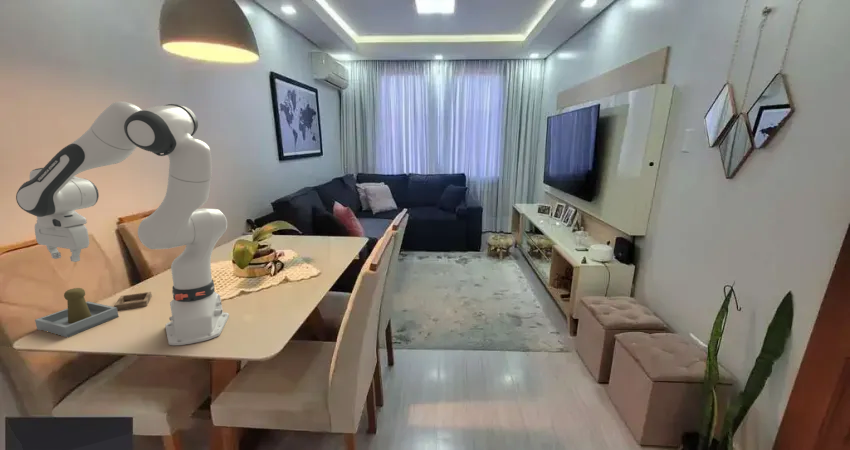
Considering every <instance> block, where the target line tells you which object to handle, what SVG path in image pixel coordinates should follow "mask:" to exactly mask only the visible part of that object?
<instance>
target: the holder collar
mask: <svg viewBox="0 0 850 450" xmlns="http://www.w3.org/2000/svg"><path fill="white" fill-rule="evenodd" d="M119 296H120V297H119V298H118V299H117V300H116V302H115V304H114V305H113V307H116V308H117V311H123V310H124V311H125V310H129V309H131V310H132V309H135V308H136V309H137V308H142V307H148V305H149V302H150V301H151V299H152V296H153V295H152V291H147V292H140V293H139V292H138V293H133V294H125V295H119ZM142 299H143V300H142ZM136 300H137V301H136ZM128 301H129V302H128ZM131 301H132V302H131Z"/></svg>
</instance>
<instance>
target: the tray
mask: <svg viewBox="0 0 850 450" xmlns="http://www.w3.org/2000/svg"><path fill="white" fill-rule="evenodd" d="M86 303H87V306H88V308H89V311H90V313H91V316H90V317H88V318H85V319H83V320H80V321H77V322H75V323H72V324H70V323H68V307H67V308H65V309H62V310H59V311H56V312H54V313H51V314H48V315H45V316H42V317H38V318H35V320H34V321H35V322H34V323H35V325H36V330H38V331H41V330H44V331H43V332H45V331H48V332H51V333H50V334H52V333H55V334H54V335H56V334H58V335H57V336H59V335H61V337H63V336H64V338H67V337H68V338H70V337H72V335H73V336H74V335H77V334H80V333H83V332H85V331H86V330H89V329H92V328H95V327H97V326H99V325H102V324H104V323H106V322H109V321H112V320H114V319H116V318H117V319H118V318H119V317H120V316H119V313H118V311H119V310H117V308H116V307H114V306H111V305H107V304H102V303H96V302H93V301H90V300H89V301H86ZM48 332H47V333H48Z"/></svg>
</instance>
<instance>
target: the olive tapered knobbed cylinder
mask: <svg viewBox="0 0 850 450" xmlns="http://www.w3.org/2000/svg"><path fill="white" fill-rule="evenodd" d="M85 296H86V290H85V289H84V288H82V287H75V288H70V289H67V290H66V291H65V292H64V293H63V297H64V299H65V300H66V301H67V308H68V323H70V324H72V323H75V322H77V321H80V320H83V319H85V318H88V317H90V316H91V313H90V311H89V308H88V306H87V303H86V302H87V301H86V299H85Z"/></svg>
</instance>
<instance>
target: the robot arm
mask: <svg viewBox="0 0 850 450" xmlns="http://www.w3.org/2000/svg"><path fill="white" fill-rule="evenodd" d="M198 127H199V121H198V117H197V116H196V114H195V113H194V111H192V110H191V108H189V107H187V106H184V105H182V104H177V103H171V104H165V105H155V106H151V107H148V108H145V109H142V108H140V107H139V106H137V105H136V104H134V103H131V102H127V101H115V102H113V103H111V104H110V105H108V107H106V108H105V109H104V110H103V111H102V112H101V113H100V114H99V115H98V116H97V118H96V119H95V120H94V122H93V123H92V124H91V126H90V127H89V128H88V130H86V131H85V132H84V133H83V134H82V135H81V136H80V137H78V138H77V139H75V140H74V141H73V142H71V143H70V144H68V145H65V146H64V147H63V148H62V149H60V150H59V151H58V152H57V153H56V154H55V155H54V156H53V157H52V158H51V159H50V160H49V161H48V162H47V164H45V165H44V167H39V168H35V169H32V170H31V171H30V173H29V179H28V180H27V181H26V182H23V183H22V184H21V185H20V186H19V188H18V190H17V191H16V195H15V201H16V203H17V206H18V207H20V209H22V210H23V211H24V212H26V213H28V214H31V215H33V216H34V217H36V219H37V220H36V222H35V224H34V235H35V240H36V242H37V244H38V245H41V246H45V247H46V249H47V250H48V252H49V253H50V255H51V258H52V259H54V260H55V259H56V260H57V259H61V257H62V253H61V252H59V250H58V248H59V249H60V248H62V249H69V251H70V253H71V255H70V256H69V258H70V262H72V263H76V262H79V261H81V257H80V255H81V253H82V250H83V249H84V250H85V249H87V248H88V247H89V245H90V237H89V232H88V231H89V230H88V229H87V226H86V224H87V223H88V221H87V218H86V217H85V216H83V215H82V214H80V213H78V212H77V211H76V210H83V209H87V208H90V207H94V206H95V205H96V204H97V203H98V200H99V197H100V195H99V190H98V187H97V185H95V183H93V181H91V180H89V179H87V178H81V177H78V176H76V175H79V174H80V173H81V174H82V173H83V172H85V171H88V170H92V169H96V168H101V167H106V166H111V165H117V164H119V163H122V162H124V161H125V160H126V159H128V158H129V157H130V156H131V155H132V154H133V152H134V151H135V150H136V149H137V147H138V148H139V149H142V150H144V151H147V152H150V153H152V154H155V155H156V156H158V157H164V156H167V157H168V159H169V165H168V166H169V168H168V178H167V188H166V192H165V196H164V198H163V200H162V201H161V203H160V204H159V206H158V207H157V208H156V210H155V211H153V212H151V214H150V215H148V216H147V217H145V218H143V220H142V221H141V222H140V223H139V225H138V228H137V237H138V239H139V241H140V242H141V244H142V245H143V246H144V247H146V248H147V249H149V250H168V249H173V248H179V247H182V246H185V247H184V250H183V251H182V252H181V253H180V254H179V255H178V256H177V257H175V258H174V260H172V263H171V266H170V271H171V276H172V287H171V288H172V290H171V291H172V296H173V297H172V300H171V301H170V302H169V304H170V311H171V313H170V314H171V316H169V318H168V319H169V321H168V322H166V323H165V331H166V337H167V342H168V345H169V346H184V345H191V344H195V343H201V342H204V341H208V340H211V339H214V338H216V337H218V336H221V333H222V331H223V330H224V328H225V325H226V323H227V321H228V320H229V318H230V314H229V313H228V312H224V310H223V305H222V304H223V303H222V298H221V295H220V294H219V293H217V292H216V290H215V283H214V280H213V278H212V266H211V265H212V264H211V261H212V260H211V259H212V254H213V250H214V248H215V246H216V244H217V242H218V241H219V240H220V238H221V237H222V236H224V234H225V233H226V231H227V229H228V220H227V217H226V215H225V214H224V213H223V212H222V211H221V210H220V209H217V208H205V207H204V208H202V206H203V205H205V204H206V203H207V202H208V200H209V197H210V193H211V183H212V175H213V158H212V157H213V156H212V151H211V148H210V146H209V145H208V143H206V142H205V141H203V140H202V139H197V138H194V137H193V136H194V134H196V132H197V130H198Z"/></svg>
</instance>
